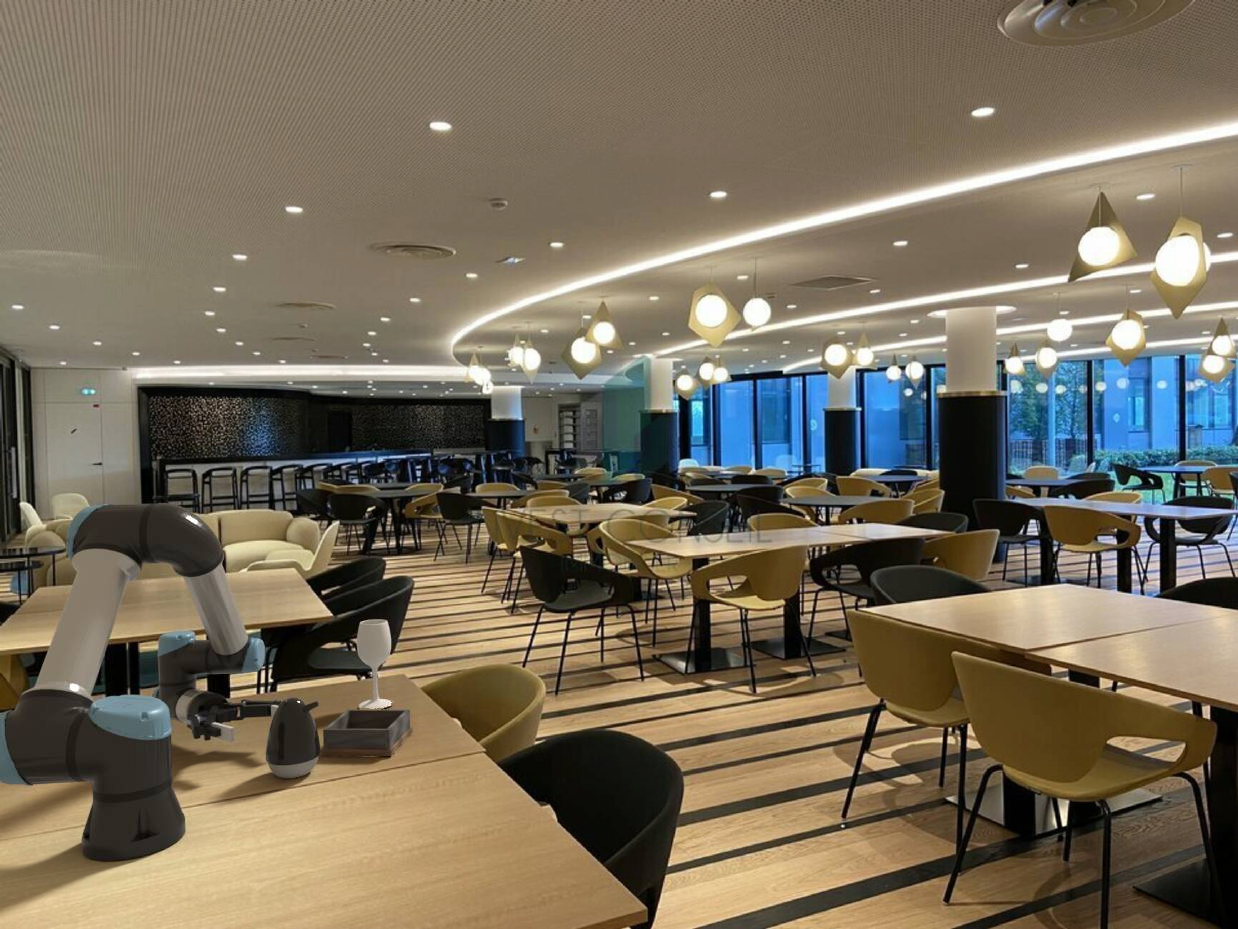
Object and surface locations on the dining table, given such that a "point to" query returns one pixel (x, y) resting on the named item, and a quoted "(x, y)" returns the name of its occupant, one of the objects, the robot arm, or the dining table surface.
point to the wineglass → (374, 654)
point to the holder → (367, 733)
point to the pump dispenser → (293, 739)
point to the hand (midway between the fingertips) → (263, 725)
